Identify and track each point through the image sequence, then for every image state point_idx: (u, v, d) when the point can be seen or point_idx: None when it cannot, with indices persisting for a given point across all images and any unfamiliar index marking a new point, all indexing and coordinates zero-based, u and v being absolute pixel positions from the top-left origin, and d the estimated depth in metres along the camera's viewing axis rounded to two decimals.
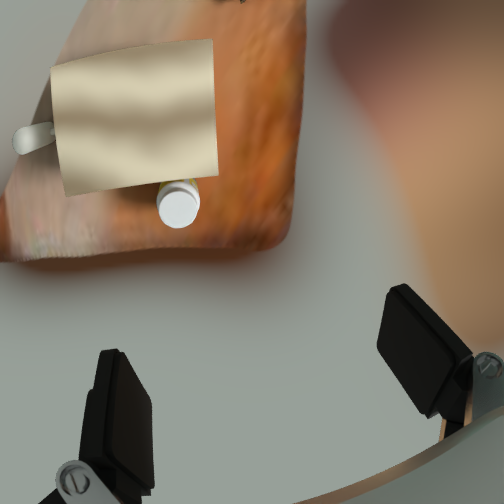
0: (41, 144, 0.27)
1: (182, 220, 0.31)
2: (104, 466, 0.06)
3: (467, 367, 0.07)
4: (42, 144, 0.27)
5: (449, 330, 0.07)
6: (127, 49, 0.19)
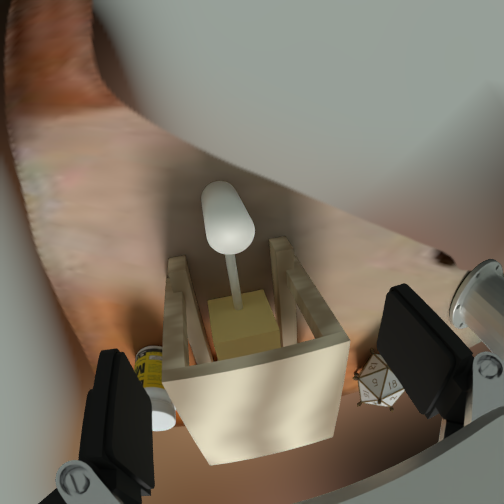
0: None
1: None
2: (104, 466, 0.06)
3: (467, 367, 0.07)
4: None
5: (449, 330, 0.07)
6: (339, 400, 0.22)
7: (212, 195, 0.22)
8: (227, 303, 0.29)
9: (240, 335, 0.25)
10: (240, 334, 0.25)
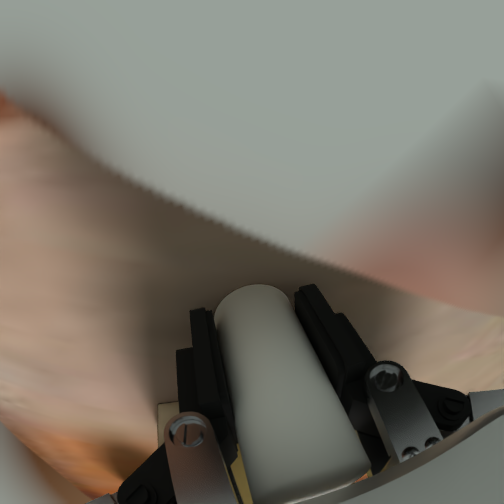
0: None
1: None
2: (213, 414, 0.07)
3: None
4: None
5: (344, 334, 0.08)
6: None
7: (248, 354, 0.08)
8: None
9: None
10: None
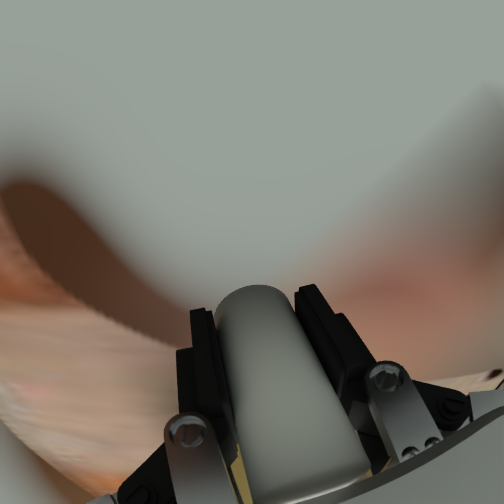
0: None
1: None
2: (213, 414, 0.07)
3: None
4: None
5: (345, 334, 0.08)
6: None
7: (249, 355, 0.08)
8: None
9: None
10: None
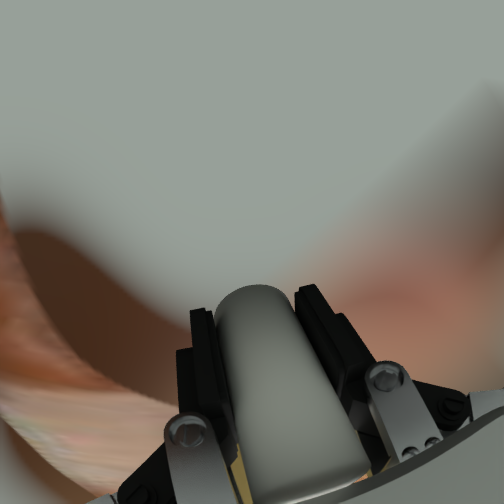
0: None
1: None
2: (213, 414, 0.07)
3: None
4: None
5: (345, 334, 0.08)
6: None
7: (248, 354, 0.08)
8: None
9: None
10: None
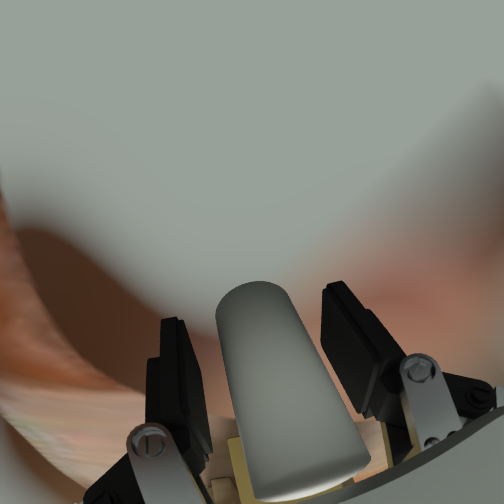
0: None
1: None
2: (177, 426, 0.07)
3: (399, 368, 0.08)
4: None
5: (377, 328, 0.08)
6: None
7: (250, 349, 0.08)
8: None
9: None
10: None
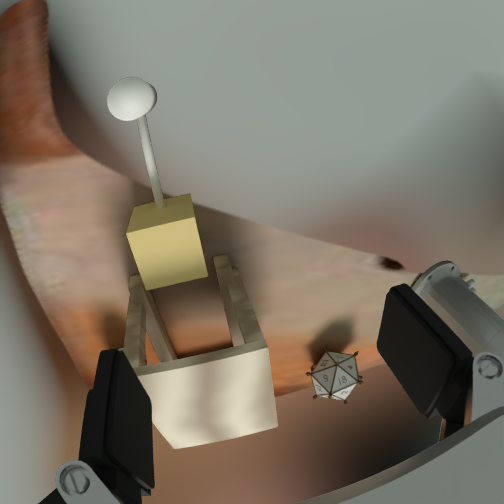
0: None
1: None
2: (104, 466, 0.06)
3: (467, 367, 0.07)
4: None
5: (449, 330, 0.07)
6: (272, 395, 0.27)
7: None
8: (152, 205, 0.27)
9: (154, 225, 0.23)
10: (154, 224, 0.23)
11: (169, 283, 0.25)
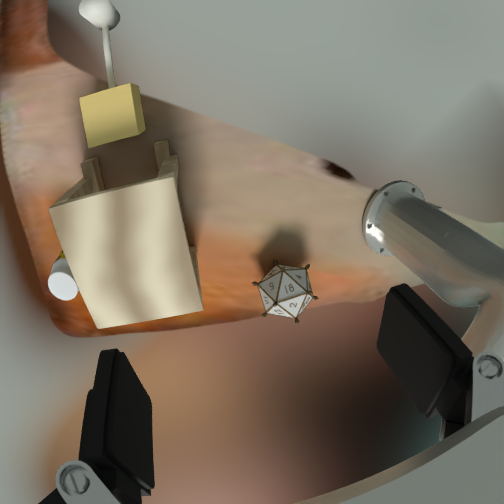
0: (90, 21, 0.22)
1: (55, 290, 0.30)
2: (104, 466, 0.06)
3: (467, 367, 0.07)
4: None
5: (449, 330, 0.07)
6: (187, 251, 0.28)
7: None
8: None
9: (100, 91, 0.25)
10: (101, 91, 0.25)
11: (107, 141, 0.27)
